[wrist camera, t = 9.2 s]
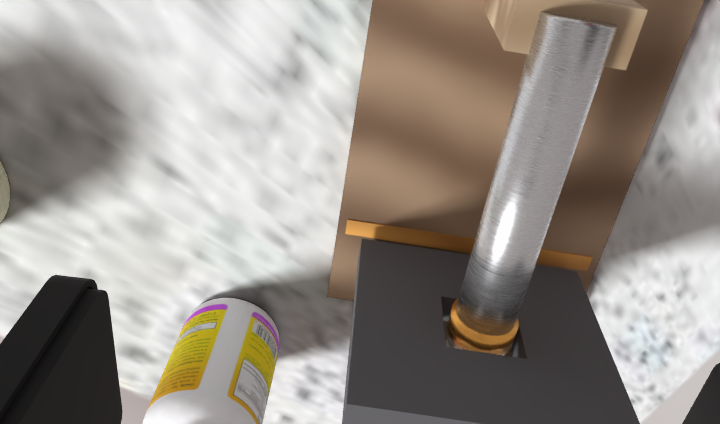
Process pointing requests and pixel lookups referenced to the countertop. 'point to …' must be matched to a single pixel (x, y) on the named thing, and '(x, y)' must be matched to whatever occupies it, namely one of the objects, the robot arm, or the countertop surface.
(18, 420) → the robot arm
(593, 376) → the dark grey flat plate
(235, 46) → the countertop surface
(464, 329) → the pipe
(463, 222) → the stand
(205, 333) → the supplement bottle
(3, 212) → the can
